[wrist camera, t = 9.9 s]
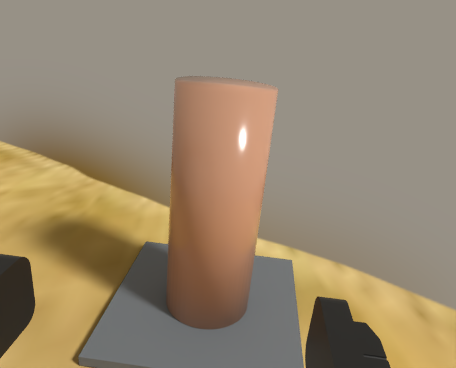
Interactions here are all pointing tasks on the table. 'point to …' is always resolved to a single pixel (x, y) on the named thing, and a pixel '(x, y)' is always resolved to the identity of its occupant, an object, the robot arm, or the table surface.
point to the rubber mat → (189, 336)
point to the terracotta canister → (216, 196)
